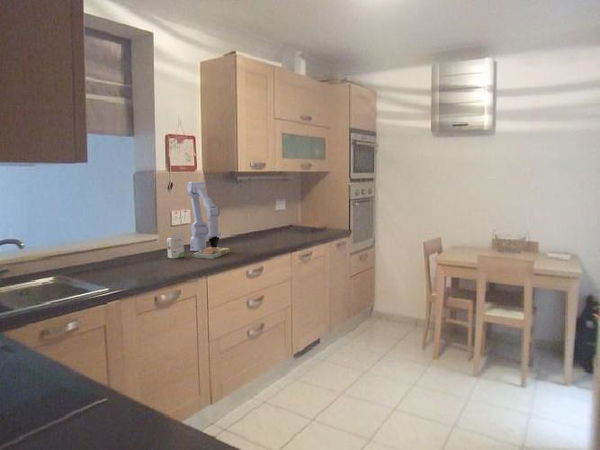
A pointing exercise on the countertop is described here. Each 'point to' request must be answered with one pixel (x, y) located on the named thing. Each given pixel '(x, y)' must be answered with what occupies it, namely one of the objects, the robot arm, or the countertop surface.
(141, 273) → the countertop surface
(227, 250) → the beige square slab
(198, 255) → the tray
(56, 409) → the countertop surface
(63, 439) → the countertop surface
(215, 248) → the tile rear
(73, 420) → the countertop surface
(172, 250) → the ink box
